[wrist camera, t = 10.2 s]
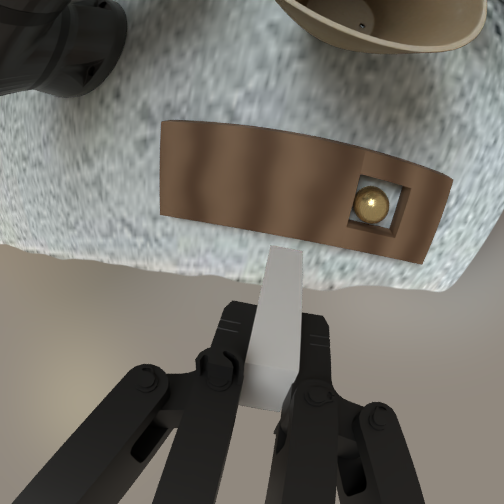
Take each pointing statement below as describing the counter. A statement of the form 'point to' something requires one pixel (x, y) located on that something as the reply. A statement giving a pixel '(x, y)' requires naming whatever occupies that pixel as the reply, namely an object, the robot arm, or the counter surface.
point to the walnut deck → (294, 187)
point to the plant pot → (390, 23)
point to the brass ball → (371, 204)
